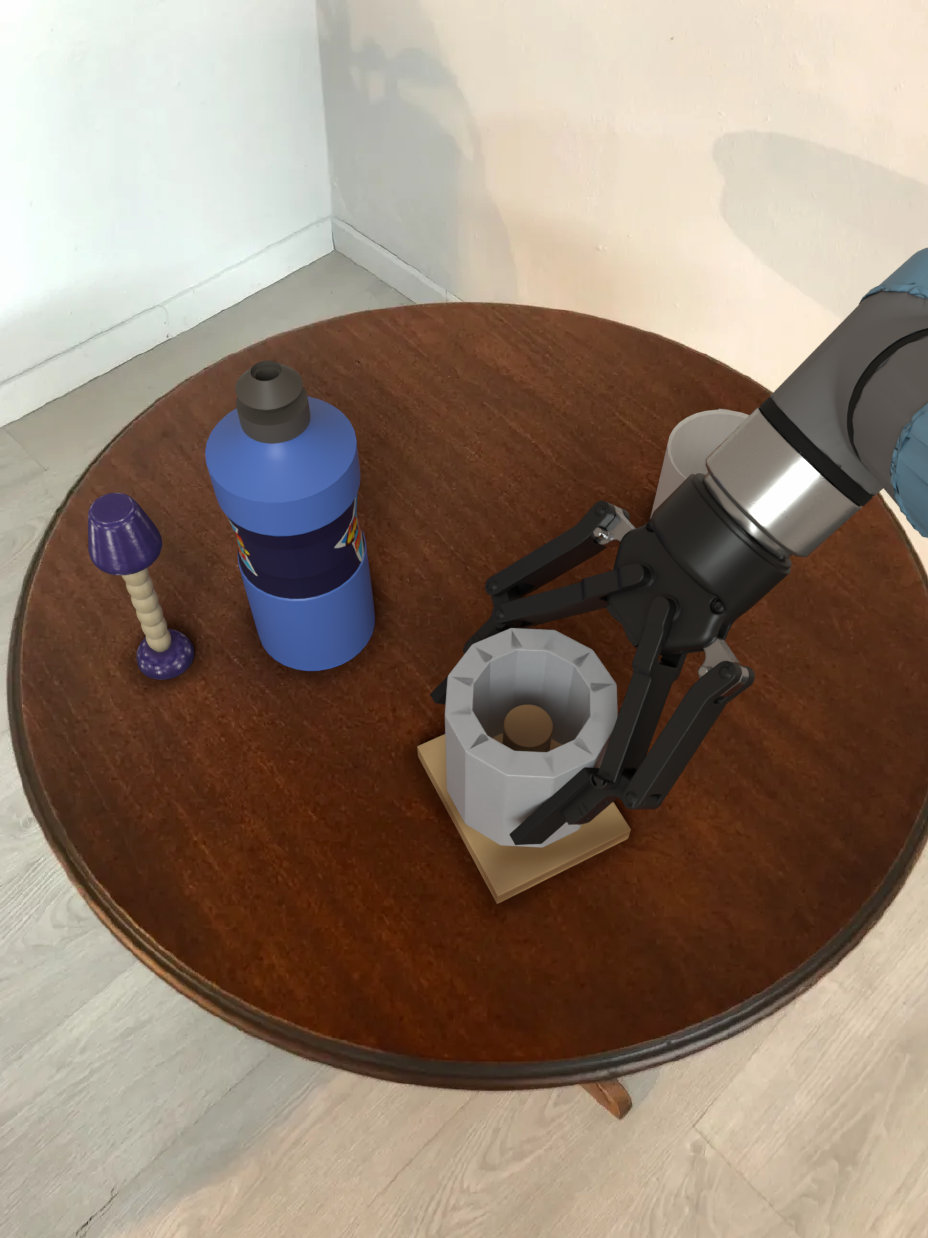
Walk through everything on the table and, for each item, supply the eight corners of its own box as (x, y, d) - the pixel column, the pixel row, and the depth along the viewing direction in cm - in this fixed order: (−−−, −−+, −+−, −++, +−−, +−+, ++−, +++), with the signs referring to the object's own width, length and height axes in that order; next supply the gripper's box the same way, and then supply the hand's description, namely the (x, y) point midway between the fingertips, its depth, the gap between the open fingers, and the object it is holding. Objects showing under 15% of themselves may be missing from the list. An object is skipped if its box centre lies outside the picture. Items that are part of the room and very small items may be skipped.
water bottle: (372, 568, 81) (343, 312, 61) (381, 666, 76) (352, 421, 56) (255, 579, 81) (186, 324, 60) (256, 678, 75) (180, 435, 55)
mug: (746, 588, 80) (777, 510, 73) (636, 556, 82) (654, 477, 74) (775, 484, 87) (806, 402, 79) (672, 456, 89) (692, 374, 81)
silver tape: (627, 806, 66) (650, 732, 58) (491, 873, 64) (496, 805, 55) (551, 688, 71) (562, 605, 63) (422, 746, 69) (417, 667, 60)
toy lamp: (171, 620, 78) (111, 469, 65) (215, 649, 77) (163, 501, 63) (125, 662, 76) (53, 515, 62) (170, 693, 75) (105, 550, 61)
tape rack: (628, 838, 68) (651, 771, 60) (497, 904, 66) (502, 843, 57) (540, 701, 74) (550, 622, 66) (417, 756, 72) (412, 681, 64)
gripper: (911, 682, 52) (610, 921, 60) (665, 405, 63) (442, 640, 72) (862, 666, 46) (538, 933, 55) (602, 365, 57) (368, 625, 66)
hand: (483, 767), depth 63 cm, fingers closed on silver tape, 10 cm apart
